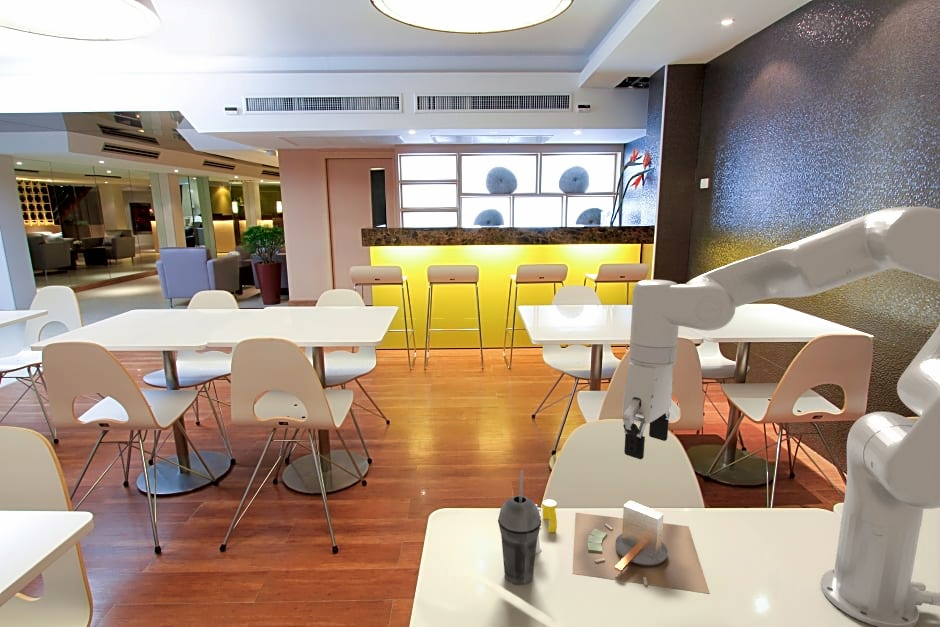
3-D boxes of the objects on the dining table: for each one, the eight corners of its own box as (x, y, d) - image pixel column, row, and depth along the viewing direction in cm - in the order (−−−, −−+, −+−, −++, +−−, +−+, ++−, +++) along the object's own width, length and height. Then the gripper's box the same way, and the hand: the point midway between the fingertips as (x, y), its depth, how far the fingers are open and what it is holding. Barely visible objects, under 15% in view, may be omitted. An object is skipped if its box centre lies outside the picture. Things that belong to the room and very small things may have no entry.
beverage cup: (492, 590, 86) (492, 480, 82) (504, 563, 93) (505, 461, 89) (534, 601, 84) (536, 488, 80) (543, 572, 90) (546, 467, 87)
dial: (629, 529, 100) (631, 491, 98) (675, 549, 94) (678, 508, 92) (593, 563, 90) (595, 521, 89) (642, 588, 84) (645, 543, 83)
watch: (560, 538, 100) (560, 511, 99) (546, 539, 100) (546, 512, 98) (552, 521, 106) (552, 494, 105) (538, 522, 105) (539, 495, 104)
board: (688, 531, 102) (688, 524, 102) (709, 601, 83) (710, 593, 83) (575, 517, 107) (575, 510, 106) (572, 581, 88) (572, 572, 88)
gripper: (652, 340, 96) (647, 426, 99) (607, 359, 83) (602, 457, 86) (693, 347, 91) (686, 438, 94) (652, 368, 78) (645, 471, 81)
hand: (646, 447), depth 90 cm, fingers open, 9 cm apart
